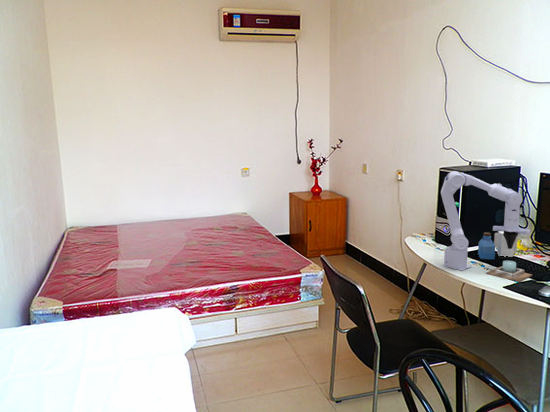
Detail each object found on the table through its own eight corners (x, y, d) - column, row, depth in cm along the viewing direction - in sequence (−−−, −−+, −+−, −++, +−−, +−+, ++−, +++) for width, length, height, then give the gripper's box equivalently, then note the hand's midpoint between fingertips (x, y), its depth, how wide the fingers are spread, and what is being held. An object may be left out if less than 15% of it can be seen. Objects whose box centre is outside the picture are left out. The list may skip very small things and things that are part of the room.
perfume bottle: (480, 258, 211) (481, 234, 208) (477, 255, 217) (478, 231, 214) (494, 259, 209) (495, 235, 207) (491, 255, 215) (492, 231, 213)
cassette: (517, 252, 218) (518, 237, 217) (515, 252, 217) (515, 237, 216) (495, 246, 229) (496, 232, 227) (493, 247, 228) (493, 233, 226)
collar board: (486, 273, 191) (486, 268, 191) (499, 267, 197) (499, 263, 197) (519, 282, 180) (519, 277, 179) (532, 275, 186) (532, 270, 186)
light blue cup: (500, 273, 189) (500, 262, 188) (506, 270, 192) (506, 259, 191) (511, 276, 185) (512, 265, 184) (517, 273, 188) (518, 262, 187)
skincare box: (509, 254, 215) (510, 230, 213) (513, 257, 211) (514, 233, 209) (496, 254, 216) (497, 231, 213) (500, 257, 212) (501, 233, 209)
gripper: (491, 218, 194) (489, 247, 197) (527, 222, 184) (525, 253, 187) (496, 215, 199) (494, 244, 202) (532, 219, 189) (530, 249, 192)
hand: (510, 248), depth 194 cm, fingers closed
